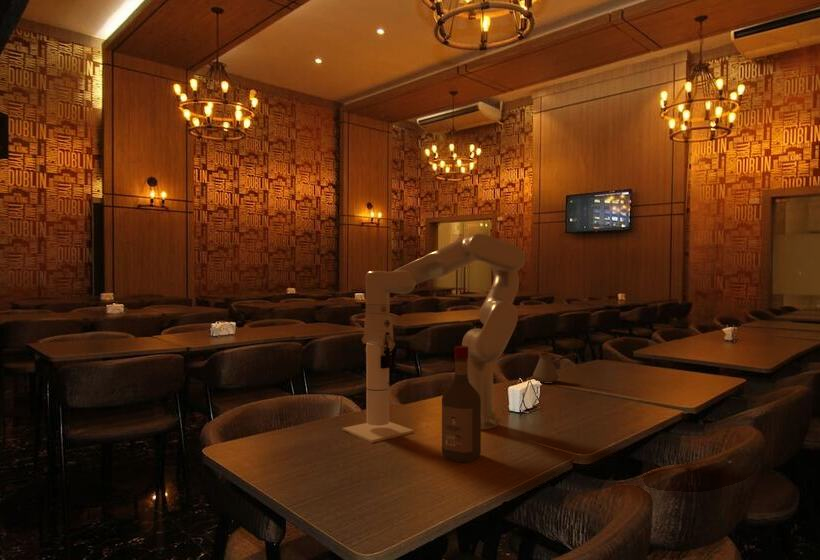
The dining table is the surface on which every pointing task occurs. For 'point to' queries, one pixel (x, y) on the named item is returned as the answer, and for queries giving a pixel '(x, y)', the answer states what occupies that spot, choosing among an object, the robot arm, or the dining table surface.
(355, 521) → the dining table surface
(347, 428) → the mat
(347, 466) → the dining table surface
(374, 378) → the cylindrical container
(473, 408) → the liquor
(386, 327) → the robot arm
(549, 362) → the coffee pot
